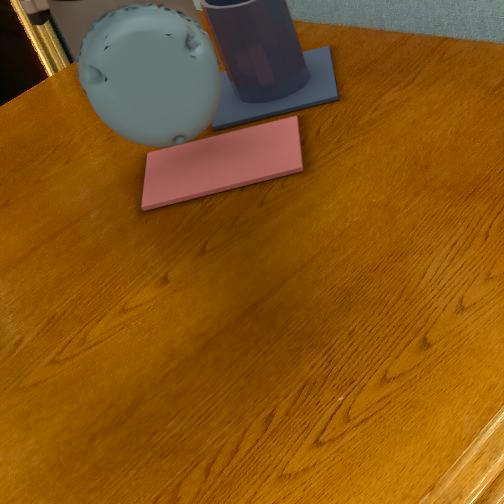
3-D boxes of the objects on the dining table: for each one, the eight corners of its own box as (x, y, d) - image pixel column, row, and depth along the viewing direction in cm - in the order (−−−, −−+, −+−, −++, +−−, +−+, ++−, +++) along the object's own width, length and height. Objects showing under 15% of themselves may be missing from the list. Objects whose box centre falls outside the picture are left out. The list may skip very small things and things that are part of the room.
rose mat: (143, 211, 85) (141, 207, 85) (149, 156, 91) (147, 152, 91) (303, 171, 85) (302, 166, 85) (298, 119, 92) (296, 115, 92)
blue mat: (213, 131, 93) (211, 126, 93) (214, 77, 101) (213, 73, 101) (339, 99, 93) (337, 95, 93) (330, 49, 101) (329, 45, 101)
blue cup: (237, 114, 95) (198, 15, 88) (236, 81, 99) (200, -15, 93) (313, 95, 95) (280, -5, 88) (309, 63, 100) (278, -34, 93)
